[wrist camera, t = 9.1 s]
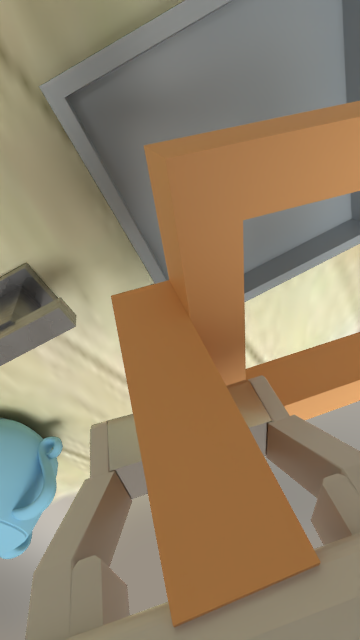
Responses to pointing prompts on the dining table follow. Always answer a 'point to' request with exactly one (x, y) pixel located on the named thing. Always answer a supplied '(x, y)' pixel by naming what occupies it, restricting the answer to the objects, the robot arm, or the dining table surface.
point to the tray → (215, 114)
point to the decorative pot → (24, 483)
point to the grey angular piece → (29, 313)
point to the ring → (227, 353)
